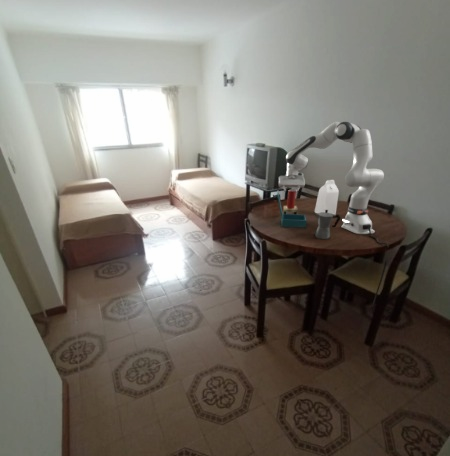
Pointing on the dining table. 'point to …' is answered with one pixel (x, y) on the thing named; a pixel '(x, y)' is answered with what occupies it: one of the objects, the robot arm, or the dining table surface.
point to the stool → (290, 210)
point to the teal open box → (293, 220)
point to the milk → (327, 198)
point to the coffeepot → (325, 224)
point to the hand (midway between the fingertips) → (291, 191)
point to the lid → (279, 202)
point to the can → (291, 199)
